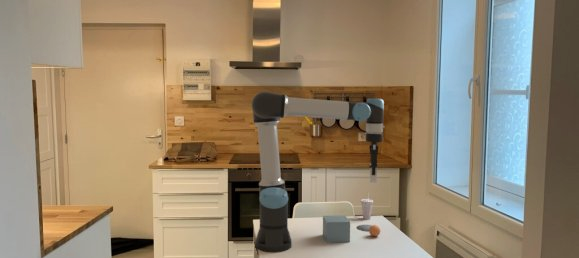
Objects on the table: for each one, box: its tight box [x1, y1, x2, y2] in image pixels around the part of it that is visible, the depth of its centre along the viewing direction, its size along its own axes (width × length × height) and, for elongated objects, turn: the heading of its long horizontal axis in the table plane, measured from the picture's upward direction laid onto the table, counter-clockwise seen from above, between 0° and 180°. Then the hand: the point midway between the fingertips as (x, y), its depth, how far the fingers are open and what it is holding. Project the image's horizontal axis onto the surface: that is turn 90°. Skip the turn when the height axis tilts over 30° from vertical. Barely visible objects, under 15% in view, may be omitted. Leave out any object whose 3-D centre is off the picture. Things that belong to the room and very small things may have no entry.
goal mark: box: [356, 224, 373, 232], centre depth 197 cm, size 10×10×1 cm
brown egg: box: [368, 224, 381, 237], centre depth 185 cm, size 5×5×5 cm
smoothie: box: [360, 191, 374, 221], centre depth 213 cm, size 6×6×14 cm
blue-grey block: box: [322, 215, 351, 243], centre depth 182 cm, size 10×10×9 cm
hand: (372, 179), depth 186 cm, fingers open, 13 cm apart
